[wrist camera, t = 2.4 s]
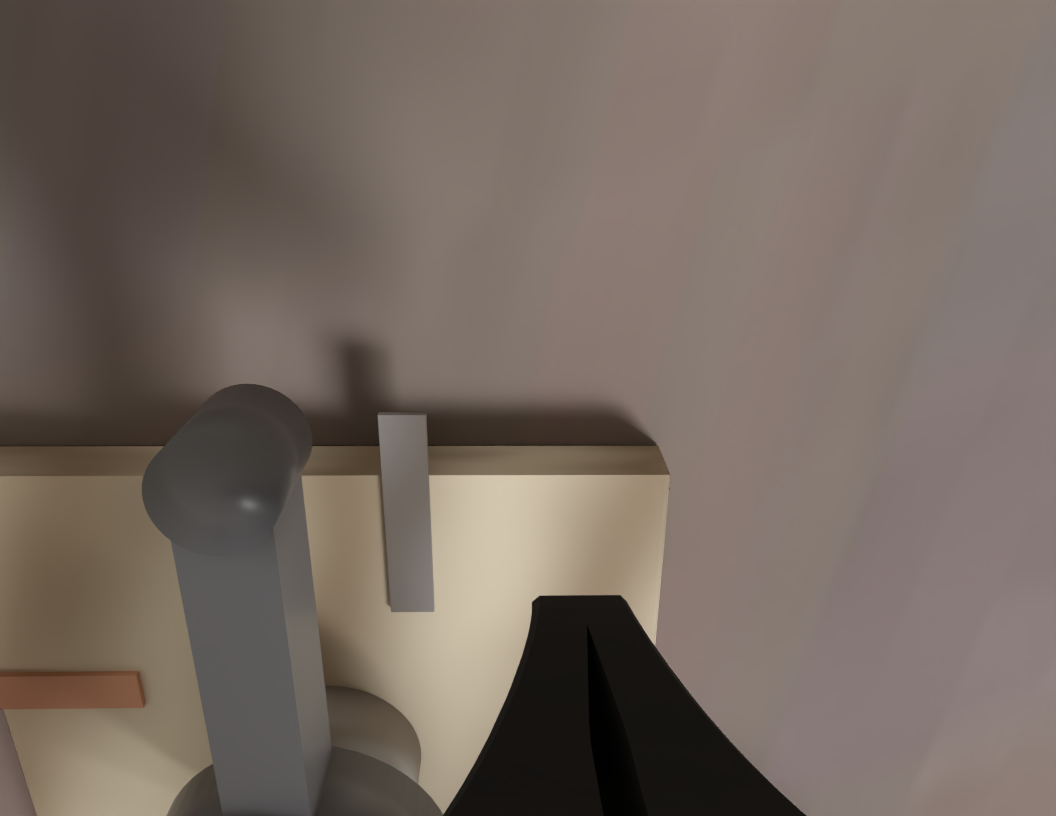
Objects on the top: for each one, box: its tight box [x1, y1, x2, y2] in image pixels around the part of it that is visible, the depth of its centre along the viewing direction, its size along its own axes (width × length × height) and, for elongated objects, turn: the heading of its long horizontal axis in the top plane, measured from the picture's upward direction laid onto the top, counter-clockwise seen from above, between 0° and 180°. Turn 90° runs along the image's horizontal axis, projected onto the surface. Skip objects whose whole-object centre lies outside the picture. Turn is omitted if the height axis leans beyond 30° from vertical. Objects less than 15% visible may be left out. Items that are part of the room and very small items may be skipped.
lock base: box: [0, 412, 670, 816], centre depth 20 cm, size 18×18×4 cm
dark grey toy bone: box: [142, 384, 443, 816], centre depth 15 cm, size 14×6×3 cm, turn 179°
